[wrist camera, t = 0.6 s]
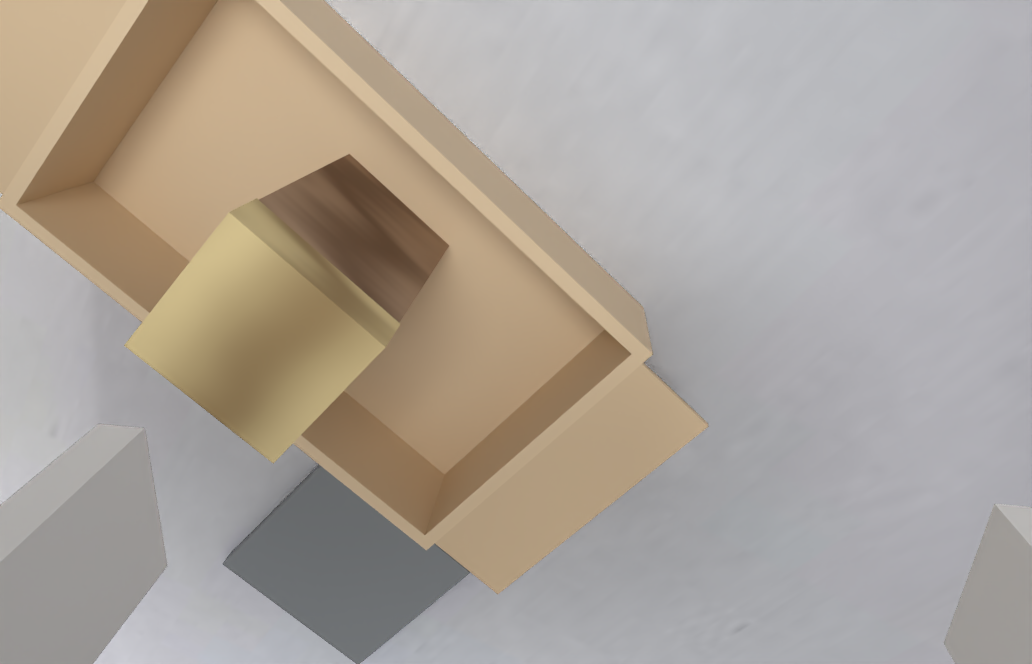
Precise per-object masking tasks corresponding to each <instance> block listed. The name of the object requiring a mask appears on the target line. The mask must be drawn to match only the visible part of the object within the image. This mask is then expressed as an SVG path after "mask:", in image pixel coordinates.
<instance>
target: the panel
mask: <svg viewBox="0 0 1032 664" xmlns="http://www.w3.org/2000/svg"><path fill="white" fill-rule="evenodd" d="M223 565H224V566H226V567H227V568H228V569H230V570H231V571H232V572H234V573H235V574H236V575H238V576H239V577H241V578H242V579H243V580H245V581H246V582H247V583H249V584H250V585H251V586H253V587H254V588H255V589H257V590H258V591H259V592H261V593H262V594H263V595H265V596H266V597H267V598H269V599H270V600H271V601H273V602H274V603H275V604H277V605H278V606H279V607H281V608H282V609H284V610H285V611H286V612H288V613H289V614H290V615H292V616H293V617H294V618H296V619H297V620H298V621H300V622H301V623H302V624H304V625H305V626H306V627H308V628H309V629H310V630H312V631H313V632H314V633H316V634H317V635H318V636H320V637H321V638H322V639H324V640H325V641H326V642H328V643H329V644H331V645H332V646H333V647H335V648H336V649H337V650H339V651H340V652H341V653H343V654H344V655H345V656H347V657H348V658H349V659H351V660H352V661H353V662H355V663H356V664H360V663H361V662H362V661H364V660H365V659H366V658H367V657H368V656H370V655H371V654H372V653H373V652H375V651H376V650H377V649H378V648H379V647H381V646H382V645H383V644H384V643H385V642H387V641H388V640H389V639H390V638H391V637H393V636H394V635H395V634H396V633H398V632H399V631H400V630H401V629H402V628H404V627H405V626H406V625H407V624H408V623H410V622H411V621H412V620H413V619H414V618H416V617H417V616H418V615H419V614H421V613H422V612H423V611H424V610H425V609H427V608H428V607H429V606H430V605H431V604H433V603H434V602H435V601H436V600H438V599H439V598H440V597H441V596H442V595H444V594H445V593H446V592H447V591H448V590H450V589H451V588H452V587H453V586H454V585H456V584H457V583H458V582H459V581H461V580H462V579H463V578H464V577H465V576H467V575H468V574H469V573H470V571H468V570H467V569H466V568H465V567H463V566H462V565H461V564H460V563H458V562H457V561H456V560H455V559H454V558H452V557H451V556H450V555H449V554H447V553H446V552H445V551H444V550H442V549H441V548H440V547H439V546H437V545H436V544H435V543H434V544H433V545H432V546H431V547H430V548H429V549H428V550H425V549H424V548H423V547H421V546H420V545H419V544H418V543H416V542H415V541H414V540H413V539H411V538H410V537H409V536H408V535H406V534H405V533H404V532H403V531H401V530H400V529H399V528H398V527H396V526H395V525H394V524H393V523H391V522H390V521H389V520H388V519H386V518H385V517H384V516H383V515H382V514H380V513H379V512H378V511H377V510H375V509H374V508H373V507H372V506H370V505H369V504H368V503H367V502H365V501H364V500H363V499H362V498H360V497H359V496H358V495H357V494H355V493H354V492H353V491H352V490H350V489H349V488H348V487H347V486H345V485H344V484H343V483H342V482H340V481H339V480H338V479H337V478H335V477H334V476H333V475H332V474H330V473H329V472H328V471H327V470H325V469H324V468H323V467H322V466H320V465H319V466H318V467H317V468H316V469H315V470H314V471H313V472H312V473H311V474H310V475H309V476H308V477H307V478H306V479H305V480H304V481H303V482H302V483H301V484H300V485H299V486H298V487H297V488H296V489H295V490H294V491H293V492H292V493H291V494H290V495H289V496H288V497H287V498H286V499H285V500H284V501H283V502H282V503H281V504H280V505H279V506H278V507H277V508H276V509H275V510H274V511H273V512H272V513H271V514H270V515H269V516H268V517H266V518H265V519H264V520H263V521H262V522H261V523H260V524H259V525H258V526H257V527H256V528H255V529H254V530H253V531H252V532H251V533H250V534H249V535H248V536H247V537H246V538H245V539H244V540H243V541H242V542H241V543H240V544H239V545H238V546H237V547H236V548H235V549H234V550H233V551H232V552H231V553H230V554H229V556H228V557H227V559H226V560H225V561H224V563H223Z"/></svg>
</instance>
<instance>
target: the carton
mask: <svg viewBox="0 0 1032 664" xmlns="http://www.w3.org/2000/svg"><path fill="white" fill-rule="evenodd" d="M348 154H350V155H351V156H353V157H354V158H355V159H356V160H357V161H358V162H359V163H360V164H361V165H362V166H363V167H365V168H366V169H367V170H368V171H369V172H370V173H371V174H372V175H373V176H374V177H375V178H376V179H378V180H379V181H380V182H381V183H382V184H383V185H384V186H385V187H386V188H387V189H388V190H390V191H391V192H392V193H393V194H394V195H395V196H396V197H397V198H398V199H399V200H400V201H402V202H403V203H404V204H405V205H406V206H407V207H408V208H409V209H410V210H411V211H412V212H414V213H415V214H416V215H417V216H418V217H419V218H420V219H421V220H422V221H423V222H424V223H426V224H427V225H428V226H429V227H430V228H431V229H432V230H433V231H434V232H435V233H436V234H438V235H439V236H440V237H441V238H442V239H443V240H444V241H445V242H446V243H447V244H448V245H449V247H448V249H447V250H446V252H445V253H444V255H443V256H442V258H441V259H440V261H439V262H438V264H437V265H436V267H435V269H434V270H433V272H432V273H431V275H430V276H429V278H428V279H427V281H426V282H425V284H424V286H423V287H422V289H421V290H420V292H419V293H418V295H417V296H416V298H415V299H414V301H413V302H412V304H411V306H410V307H409V309H408V310H407V312H406V313H405V315H404V316H403V318H402V319H401V321H400V326H399V327H398V329H397V330H396V332H395V334H394V335H393V337H392V338H391V340H390V341H389V343H388V344H387V346H386V347H385V349H384V350H383V351H382V352H381V353H380V354H379V355H378V356H377V357H376V358H375V359H374V360H373V361H372V362H371V363H370V364H369V365H368V366H367V367H366V368H365V369H364V370H363V371H362V372H361V373H360V374H359V375H358V376H357V377H356V379H355V380H354V381H353V382H352V383H351V384H350V385H349V386H348V387H347V388H346V389H345V390H344V391H343V392H342V393H341V394H340V395H339V396H338V397H337V398H336V399H335V400H334V401H333V402H332V403H331V404H330V405H329V406H328V408H327V409H326V410H325V411H324V412H323V413H322V414H321V415H320V416H319V417H318V418H317V419H316V420H315V421H314V422H313V423H312V424H311V425H310V426H309V427H308V428H307V429H306V430H305V431H304V432H303V433H302V434H301V435H300V436H299V438H298V439H297V440H296V441H295V442H294V443H293V444H294V445H296V446H297V447H298V448H299V449H301V450H302V451H303V452H304V453H306V454H307V455H308V456H309V457H311V458H312V459H313V460H314V461H315V462H317V463H318V464H319V465H320V466H322V467H323V468H324V469H325V470H327V471H328V472H329V473H330V474H332V475H333V476H334V477H335V478H337V479H338V480H339V481H340V482H342V483H343V484H344V485H345V486H347V487H348V488H349V489H350V490H352V491H353V492H354V493H355V494H357V495H358V496H359V497H360V498H362V499H363V500H364V501H365V502H367V503H368V504H369V505H370V506H372V507H373V508H374V509H375V510H377V511H378V512H379V513H380V514H382V515H383V516H384V517H385V518H386V519H388V520H389V521H390V522H391V523H393V524H394V525H395V526H396V527H398V528H399V529H400V530H401V531H403V532H404V533H405V534H406V535H408V536H409V537H410V538H411V539H413V540H414V541H415V542H416V543H418V544H419V545H420V546H421V547H423V548H424V549H425V550H428V549H429V548H430V547H431V546H432V545H433V544H434V543H435V544H436V545H437V546H439V547H440V548H441V549H442V550H444V551H445V552H446V553H447V554H449V555H450V556H451V557H452V558H454V559H455V560H456V561H457V562H458V563H460V564H461V565H462V566H463V567H465V568H466V569H467V570H468V571H470V572H471V573H472V574H473V575H475V576H476V577H477V578H478V579H480V580H481V581H482V582H483V583H484V584H486V585H487V586H488V587H489V588H491V589H492V590H493V591H494V592H496V593H497V594H499V593H500V592H501V591H503V590H504V589H505V588H506V587H508V586H509V585H510V584H511V583H513V582H514V581H515V580H516V579H518V578H519V577H520V576H521V575H523V574H524V573H525V572H526V571H528V570H529V569H530V568H531V567H533V566H534V565H535V564H537V563H538V562H539V561H540V560H542V559H543V558H544V557H545V556H547V555H548V554H549V553H550V552H552V551H553V550H554V549H555V548H557V547H558V546H559V545H560V544H562V543H563V542H564V541H565V540H567V539H568V538H569V537H570V536H572V535H573V534H574V533H575V532H577V531H578V530H579V529H580V528H582V527H583V526H584V525H586V524H587V523H588V522H589V521H591V520H592V519H593V518H594V517H596V516H597V515H598V514H599V513H601V512H602V511H603V510H604V509H606V508H607V507H608V506H609V505H611V504H612V503H613V502H614V501H616V500H617V499H618V498H619V497H621V496H622V495H623V494H624V493H626V492H627V491H628V490H629V489H631V488H632V487H633V486H634V485H636V484H637V483H638V482H640V481H641V480H642V479H643V478H645V477H646V476H647V475H648V474H650V473H651V472H652V471H653V470H655V469H656V468H657V467H658V466H660V465H661V464H662V463H663V462H665V461H666V460H667V459H668V458H670V457H671V456H672V455H673V454H675V453H676V452H677V451H678V450H680V449H681V448H682V447H683V446H685V445H686V444H687V443H689V442H690V441H691V440H692V439H694V438H695V437H696V436H697V435H699V434H700V433H701V432H702V431H704V430H705V429H706V428H707V427H709V426H708V423H707V422H706V421H705V420H704V419H703V418H702V417H701V416H700V415H699V414H697V413H696V412H695V411H694V410H693V409H692V408H691V407H690V406H689V405H688V404H687V403H686V402H685V401H684V400H683V399H682V398H680V397H679V396H678V395H677V394H676V393H675V392H674V391H673V390H672V389H671V388H670V387H669V386H668V385H667V384H666V383H665V382H663V381H662V380H661V379H660V378H659V377H658V376H657V375H656V374H655V373H654V372H653V371H652V370H651V369H650V368H649V367H647V366H646V365H645V364H644V362H645V361H646V360H647V359H648V358H649V357H651V356H652V355H653V352H652V347H651V342H650V337H649V332H648V327H647V323H646V318H645V313H644V308H643V307H642V306H641V305H640V304H639V303H638V302H637V301H636V300H635V299H634V298H633V297H632V296H631V295H630V294H629V293H628V292H627V291H626V290H625V289H624V288H623V287H621V286H620V285H619V284H618V283H617V282H616V281H615V280H614V279H613V278H612V277H611V276H610V275H609V274H608V273H607V272H606V271H605V270H604V269H603V268H602V267H601V266H600V265H599V264H598V263H597V262H596V261H594V260H593V259H592V258H591V257H590V256H589V255H588V254H587V253H586V252H585V251H584V250H583V249H582V248H581V247H580V246H579V245H578V244H577V243H576V242H575V241H574V240H573V239H572V238H571V237H570V236H568V235H567V234H566V233H565V232H564V231H563V230H562V229H561V228H560V227H559V226H558V225H557V224H556V223H555V222H554V221H553V220H552V219H551V218H550V217H549V216H548V215H547V214H546V213H545V212H544V211H542V210H541V209H540V208H539V207H538V206H537V205H536V204H535V203H534V202H533V201H532V200H531V199H530V198H529V197H528V196H527V195H526V194H525V193H524V192H523V191H522V190H521V189H520V188H519V187H518V186H517V185H515V184H514V183H513V182H512V181H511V180H510V179H509V178H508V177H507V176H506V175H505V174H504V173H503V172H502V171H501V170H500V169H499V168H498V167H497V166H496V165H495V164H494V163H493V162H492V161H491V160H489V159H488V158H487V157H486V156H485V155H484V154H483V153H482V152H481V151H480V150H479V149H478V148H477V147H476V146H475V145H474V144H473V143H472V142H471V141H470V140H469V139H468V138H467V137H466V136H465V135H464V134H462V133H461V132H460V131H459V130H458V129H457V128H456V127H455V126H454V125H453V124H452V123H451V122H450V121H449V120H448V119H447V118H446V117H445V116H444V115H443V114H442V113H441V112H440V111H439V110H438V109H436V108H435V107H434V106H433V105H432V104H431V103H430V102H429V101H428V100H427V99H426V98H425V97H424V96H423V95H422V94H421V93H420V92H419V91H418V90H417V89H416V88H415V87H414V86H413V85H412V84H410V83H409V82H408V81H407V80H406V79H405V78H404V77H403V76H402V75H401V74H400V73H399V72H398V71H397V70H396V69H395V68H394V67H393V66H392V65H391V64H390V63H389V62H388V61H387V60H386V59H385V58H383V57H382V56H381V55H380V54H379V53H378V52H377V51H376V50H375V49H374V48H373V47H372V46H371V45H370V44H369V43H368V42H367V41H366V40H365V39H364V38H363V37H362V36H361V35H360V34H359V33H357V32H356V31H355V30H354V29H353V28H352V27H351V26H350V25H349V24H348V23H347V22H346V21H345V20H344V19H343V18H342V17H341V16H340V15H339V14H338V13H337V12H336V11H335V10H334V9H333V8H332V7H330V6H329V5H328V4H327V3H326V2H325V1H324V0H0V193H2V194H3V195H2V197H1V198H0V209H2V210H3V211H4V212H5V213H7V214H8V215H9V216H10V217H12V218H13V219H14V220H15V221H16V222H18V223H19V224H20V225H21V226H23V227H24V228H25V229H26V230H28V231H29V232H30V233H31V234H33V235H34V236H35V237H36V238H38V239H39V240H40V241H41V242H43V243H44V244H45V245H46V246H48V247H49V248H50V249H51V250H53V251H54V252H55V253H56V254H58V255H59V256H60V257H61V258H63V259H64V260H65V261H66V262H68V263H69V264H70V265H71V266H73V267H74V268H75V269H76V270H78V271H79V272H80V273H81V274H83V275H84V276H85V277H86V278H88V279H89V280H90V281H91V282H92V283H94V284H95V285H96V286H97V287H99V288H100V289H101V290H102V291H104V292H105V293H106V294H107V295H109V296H110V297H111V298H112V299H114V300H115V301H116V302H117V303H119V304H120V305H121V306H122V307H124V308H125V309H126V310H127V311H129V312H130V313H131V314H132V315H134V316H135V317H136V318H137V319H139V320H140V321H141V322H143V321H144V320H145V318H146V317H147V316H148V314H149V313H150V312H151V311H152V309H153V308H154V307H155V306H156V304H157V303H158V302H159V300H160V299H161V298H162V297H163V295H164V294H165V293H166V292H167V290H168V289H169V288H170V286H171V285H172V284H173V283H174V281H175V280H176V279H177V278H178V276H179V275H180V274H181V272H182V271H183V270H184V269H185V267H186V266H187V265H188V264H189V262H190V261H191V260H192V258H193V257H194V256H195V255H196V253H197V252H198V251H199V250H200V248H201V247H202V246H203V244H204V243H205V242H206V241H207V239H208V238H209V237H210V236H211V234H212V233H213V232H214V230H215V229H216V228H217V227H218V225H219V224H220V223H221V222H222V220H223V219H224V218H225V216H226V215H227V214H228V213H229V212H230V211H232V210H234V209H236V208H238V207H240V206H242V205H244V204H246V203H248V202H250V201H252V200H254V199H256V198H257V199H258V200H259V199H261V198H263V197H265V196H267V195H269V194H271V193H273V192H275V191H277V190H279V189H281V188H283V187H285V186H287V185H289V184H290V183H292V182H294V181H296V180H298V179H300V178H302V177H304V176H306V175H308V174H310V173H312V172H314V171H316V170H318V169H320V168H322V167H324V166H326V165H328V164H330V163H332V162H334V161H336V160H338V159H340V158H342V157H344V156H346V155H348Z"/></svg>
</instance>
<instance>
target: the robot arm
mask: <svg viewBox="0 0 1032 664" xmlns="http://www.w3.org/2000/svg"><path fill="white" fill-rule="evenodd" d="M166 567H167V560H166V554H165V548H164V542H163V536H162V530H161V523H160V517H159V511H158V505H157V499H156V493H155V486H154V480H153V474H152V468H151V462H150V456H149V449H148V443H147V437H146V431H145V428H141V427H130V426H119V425H108V424H98V425H96V426H95V427H94V428H93V429H91V430H90V431H89V432H88V433H87V434H85V435H84V436H83V437H82V438H81V439H79V440H78V441H77V442H76V443H75V444H73V445H72V446H71V447H70V448H69V449H67V450H66V451H65V452H64V453H63V454H61V455H60V456H59V457H58V458H57V459H55V460H54V461H53V462H52V463H51V464H49V465H48V466H47V467H46V468H45V469H43V470H42V471H41V472H40V473H39V474H37V475H36V476H35V477H34V478H32V479H31V480H30V481H29V482H28V483H26V484H25V485H24V486H23V487H22V488H20V489H19V490H18V491H17V492H16V493H14V494H13V495H12V496H11V497H10V498H8V499H7V500H6V501H5V502H4V503H2V504H1V505H0V664H93V663H94V662H95V661H96V659H97V658H98V657H99V655H100V654H101V653H102V651H103V650H104V649H105V647H106V646H107V645H108V643H109V642H110V641H111V639H112V638H113V637H114V636H115V634H116V633H117V632H118V630H119V629H120V628H121V626H122V625H123V624H124V622H125V621H126V620H127V618H128V617H129V616H130V615H131V613H132V612H133V611H134V609H135V608H136V607H137V605H138V604H139V603H140V601H141V600H142V599H143V597H144V596H145V595H146V594H147V592H148V591H149V590H150V588H151V587H152V586H153V584H154V583H155V582H156V580H157V579H158V578H159V576H160V575H161V574H162V573H163V571H164V570H165V569H166ZM944 645H945V647H946V648H947V650H948V652H949V653H950V655H951V657H952V659H953V660H954V662H955V664H1032V507H1025V506H1014V505H1002V504H994V507H993V509H992V512H991V515H990V518H989V520H988V523H987V526H986V529H985V531H984V534H983V537H982V540H981V542H980V545H979V548H978V550H977V553H976V556H975V559H974V561H973V564H972V567H971V570H970V572H969V575H968V578H967V581H966V583H965V586H964V589H963V592H962V594H961V597H960V600H959V603H958V605H957V608H956V611H955V614H954V616H953V619H952V622H951V624H950V627H949V630H948V633H947V635H946V638H945V641H944Z"/></svg>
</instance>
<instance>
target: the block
mask: <svg viewBox="0 0 1032 664" xmlns="http://www.w3.org/2000/svg"><path fill="white" fill-rule="evenodd" d="M448 247H449V245H448V244H447V243H446V242H445V241H444V240H443V239H442V238H441V237H440V236H439V235H438V234H436V233H435V232H434V231H433V230H432V229H431V228H430V227H429V226H428V225H427V224H426V223H424V222H423V221H422V220H421V219H420V218H419V217H418V216H417V215H416V214H415V213H414V212H412V211H411V210H410V209H409V208H408V207H407V206H406V205H405V204H404V203H403V202H402V201H400V200H399V199H398V198H397V197H396V196H395V195H394V194H393V193H392V192H391V191H390V190H388V189H387V188H386V187H385V186H384V185H383V184H382V183H381V182H380V181H379V180H378V179H376V178H375V177H374V176H373V175H372V174H371V173H370V172H369V171H368V170H367V169H366V168H365V167H363V166H362V165H361V164H360V163H359V162H358V161H357V160H356V159H355V158H354V157H353V156H351V155H350V154H348V155H346V156H344V157H342V158H340V159H338V160H336V161H334V162H332V163H330V164H328V165H326V166H324V167H322V168H320V169H318V170H316V171H314V172H312V173H310V174H308V175H306V176H304V177H302V178H300V179H298V180H296V181H294V182H292V183H290V184H289V185H287V186H285V187H283V188H281V189H279V190H277V191H275V192H273V193H271V194H269V195H267V196H265V197H263V198H261V199H259V200H258V199H257V198H256V199H254V200H252V201H250V202H248V203H246V204H244V205H242V206H240V207H238V208H236V209H234V210H232V211H230V212H229V213H228V214H227V215H226V216H225V218H224V219H223V220H222V222H221V223H220V224H219V225H218V227H217V228H216V229H215V230H214V232H213V233H212V234H211V236H210V237H209V238H208V239H207V241H206V242H205V243H204V244H203V246H202V247H201V248H200V250H199V251H198V252H197V253H196V255H195V256H194V257H193V258H192V260H191V261H190V262H189V264H188V265H187V266H186V267H185V269H184V270H183V271H182V272H181V274H180V275H179V276H178V278H177V279H176V280H175V281H174V283H173V284H172V285H171V286H170V288H169V289H168V290H167V292H166V293H165V294H164V295H163V297H162V298H161V299H160V300H159V302H158V303H157V304H156V306H155V307H154V308H153V309H152V311H151V312H150V313H149V314H148V316H147V317H146V318H145V320H144V321H143V322H142V323H141V325H140V326H139V327H138V328H137V330H136V331H135V332H134V334H133V335H132V336H131V337H130V339H129V340H128V341H127V342H126V344H125V345H124V346H125V347H127V348H128V349H129V350H130V351H132V352H133V353H134V354H135V355H137V356H138V357H139V358H140V359H142V360H143V361H144V362H145V363H147V364H148V365H149V366H151V367H152V368H153V369H154V370H156V371H157V372H158V373H159V374H161V375H162V376H163V377H164V378H166V379H167V380H168V381H170V382H171V383H172V384H173V385H175V386H176V387H177V388H178V389H180V390H181V391H182V392H183V393H185V394H186V395H187V396H188V397H190V398H191V399H192V400H194V401H195V402H196V403H197V404H199V405H200V406H201V407H202V408H204V409H205V410H206V411H207V412H209V413H210V414H211V415H213V416H214V417H215V418H216V419H218V420H219V421H220V422H221V423H223V424H224V425H225V426H226V427H228V428H229V429H230V430H231V431H233V432H234V433H235V434H237V435H238V436H239V437H240V438H242V439H243V440H244V441H245V442H247V443H248V444H249V445H250V446H252V447H253V448H254V449H256V450H257V451H258V452H259V453H261V454H262V455H263V456H264V457H266V458H267V459H268V460H269V461H271V462H272V463H274V462H275V461H276V460H277V459H278V458H279V457H280V456H281V455H282V454H283V453H284V452H285V451H286V450H287V449H288V448H289V447H290V446H291V445H292V444H293V443H294V442H295V441H296V440H297V439H298V438H299V436H300V435H301V434H302V433H303V432H304V431H305V430H306V429H307V428H308V427H309V426H310V425H311V424H312V423H313V422H314V421H315V420H316V419H317V418H318V417H319V416H320V415H321V414H322V413H323V412H324V411H325V410H326V409H327V408H328V406H329V405H330V404H331V403H332V402H333V401H334V400H335V399H336V398H337V397H338V396H339V395H340V394H341V393H342V392H343V391H344V390H345V389H346V388H347V387H348V386H349V385H350V384H351V383H352V382H353V381H354V380H355V379H356V377H357V376H358V375H359V374H360V373H361V372H362V371H363V370H364V369H365V368H366V367H367V366H368V365H369V364H370V363H371V362H372V361H373V360H374V359H375V358H376V357H377V356H378V355H379V354H380V353H381V352H382V351H383V350H384V349H385V347H386V346H387V344H388V343H389V341H390V340H391V338H392V337H393V335H394V334H395V332H396V330H397V329H398V327H399V326H400V321H401V319H402V318H403V316H404V315H405V313H406V312H407V310H408V309H409V307H410V306H411V304H412V302H413V301H414V299H415V298H416V296H417V295H418V293H419V292H420V290H421V289H422V287H423V286H424V284H425V282H426V281H427V279H428V278H429V276H430V275H431V273H432V272H433V270H434V269H435V267H436V265H437V264H438V262H439V261H440V259H441V258H442V256H443V255H444V253H445V252H446V250H447V249H448Z"/></svg>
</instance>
